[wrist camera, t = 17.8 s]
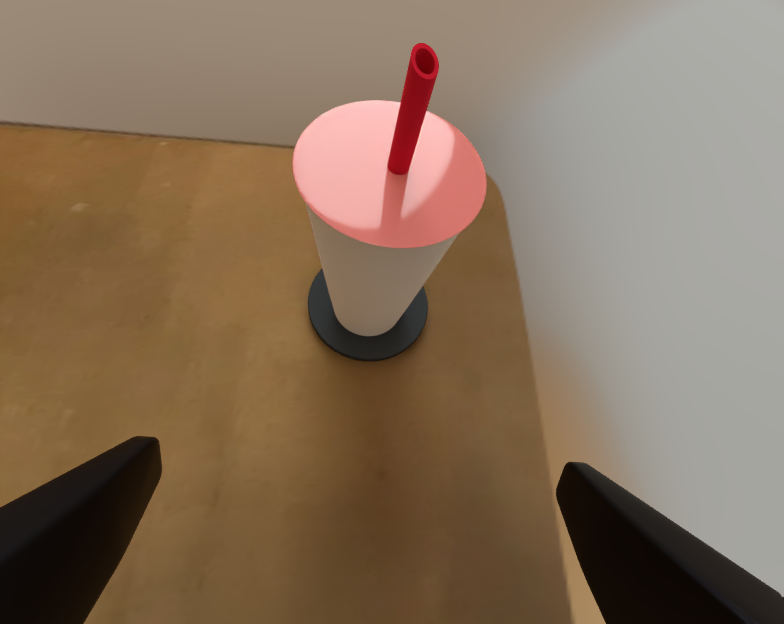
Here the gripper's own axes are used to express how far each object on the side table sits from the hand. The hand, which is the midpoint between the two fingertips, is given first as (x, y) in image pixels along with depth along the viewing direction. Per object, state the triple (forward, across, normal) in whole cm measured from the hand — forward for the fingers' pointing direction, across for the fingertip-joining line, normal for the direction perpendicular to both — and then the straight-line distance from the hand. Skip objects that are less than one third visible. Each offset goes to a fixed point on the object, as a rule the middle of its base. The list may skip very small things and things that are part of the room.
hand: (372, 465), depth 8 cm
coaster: (+11, 0, 0) cm, 11 cm away
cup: (+11, 0, 0) cm, 11 cm away
